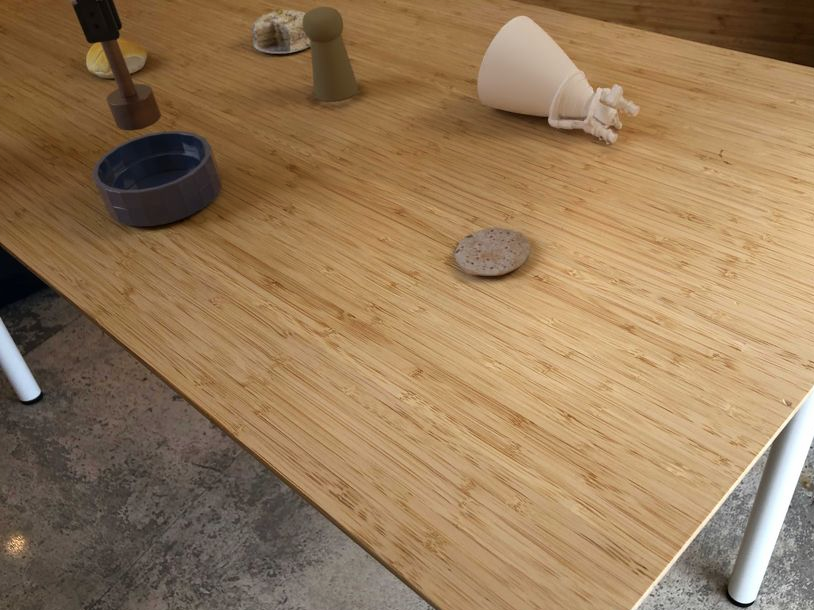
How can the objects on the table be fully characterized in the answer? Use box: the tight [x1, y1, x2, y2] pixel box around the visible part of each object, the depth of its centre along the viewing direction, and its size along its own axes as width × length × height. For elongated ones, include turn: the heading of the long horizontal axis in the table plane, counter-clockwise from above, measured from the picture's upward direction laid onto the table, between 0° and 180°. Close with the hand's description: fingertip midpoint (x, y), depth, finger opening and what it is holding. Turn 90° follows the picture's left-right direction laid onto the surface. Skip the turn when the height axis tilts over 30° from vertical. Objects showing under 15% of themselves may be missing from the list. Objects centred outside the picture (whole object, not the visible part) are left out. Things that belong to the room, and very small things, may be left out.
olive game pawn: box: [303, 6, 359, 102], centre depth 112 cm, size 6×6×11 cm
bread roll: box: [85, 36, 148, 80], centre depth 126 cm, size 8×9×4 cm
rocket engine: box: [476, 15, 641, 145], centre depth 102 cm, size 12×12×18 cm
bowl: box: [91, 130, 222, 227], centre depth 98 cm, size 13×13×5 cm
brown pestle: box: [101, 40, 162, 132], centre depth 87 cm, size 5×5×15 cm
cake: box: [251, 8, 311, 54], centre depth 128 cm, size 10×10×5 cm
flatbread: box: [454, 226, 532, 277], centre depth 86 cm, size 8×8×1 cm
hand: (105, 34), depth 86 cm, fingers closed on brown pestle
